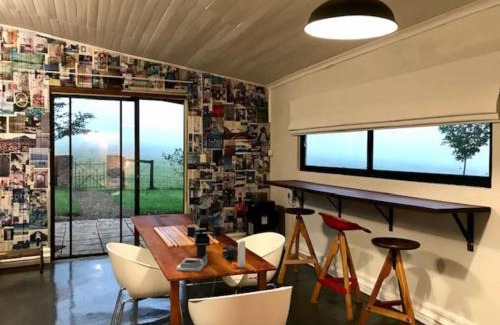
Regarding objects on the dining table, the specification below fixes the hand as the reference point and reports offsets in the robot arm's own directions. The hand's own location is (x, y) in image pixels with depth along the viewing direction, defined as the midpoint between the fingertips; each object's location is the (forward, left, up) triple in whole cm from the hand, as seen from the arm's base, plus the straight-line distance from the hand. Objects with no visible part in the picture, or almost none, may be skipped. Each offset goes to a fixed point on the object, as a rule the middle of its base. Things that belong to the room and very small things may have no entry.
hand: (205, 238), depth 224 cm
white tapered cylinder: (-10, +18, -16) cm, 26 cm away
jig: (0, -7, -16) cm, 17 cm away
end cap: (-24, +5, -16) cm, 29 cm away
